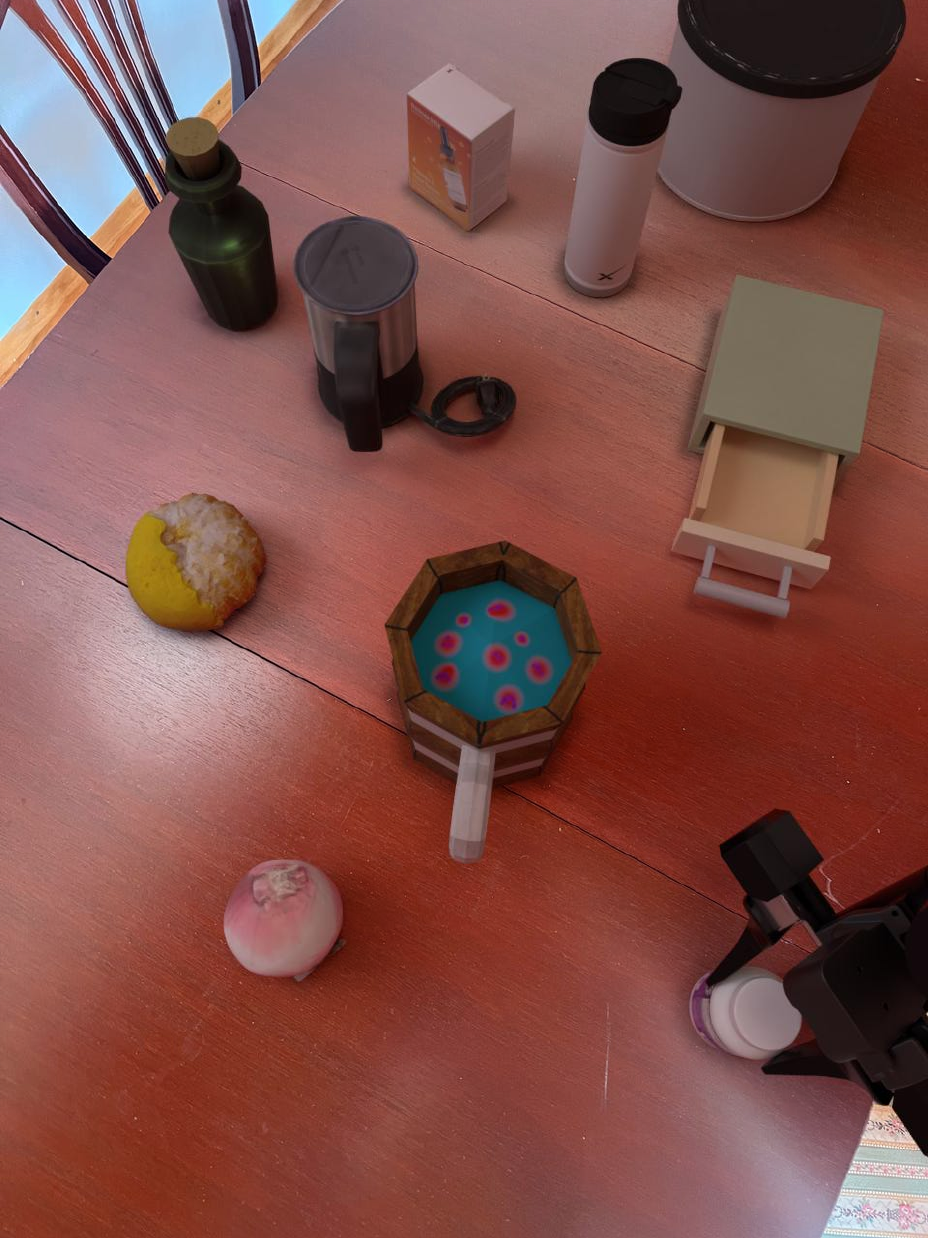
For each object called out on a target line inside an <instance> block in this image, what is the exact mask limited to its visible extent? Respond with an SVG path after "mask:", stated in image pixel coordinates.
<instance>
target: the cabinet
mask: <svg viewBox="0 0 928 1238" xmlns="http://www.w3.org/2000/svg"><path fill="white" fill-rule="evenodd" d="M884 314H885V310H884V309H883V308H877V307H874V306H871V305H870V306H869V305H865V304H861V303H858V302H854V301H849V300H845V299H841V298H836V297H833V296H830V295H829V296H828V295H824V294H820V293H816V292H812V291H808V290H803V289H799V288H795V287H791V286H788V285H784V284H783V285H782V284H779V283H774V282H770V281H766V280H763V279H758V278H755V277H749V276H745V275H741V274H736V275H735V278H734V281H733V282H732V285H731V288H730V291H729V292H728V295H727V298H726V301H725V303H724V306H723V309H722V310H721V312H720V316H719V319H718V322H717V327H716V331H715V334H714V338H713V342H712V347H711V351H710V354H709V360H708V363H707V367H706V372H705V375H704V379H703V382H702V387H701V392H700V396H699V400H698V404H697V408H696V412H695V416H694V420H693V424H692V427H691V432H690V436H689V440H688V444H687V449H686V450H687V451H688V452H692V453H695V454H700V455H702V456H703V455H704V451H705V447H706V442H707V438H708V434H709V430H710V426H711V421H712V422H716V423H720V424H724V425H728V426H732V427H736V428H739V429H743V430H747V431H751V432H755V433H759V434H763V435H767V436H771V437H775V438H778V439H782V440H786V441H790V442H794V443H798V444H802V445H806V446H810V447H814V448H817V449H821V450H825V451H829V452H833V453H837V454H839V457H838V463H837V469H836V474H835V480H834V486H833V489H835V488H836V486H837V485H838V484H839V482H840V481H841V480H842V478H843V477H844V476H845V474H846V473H847V471H848V470H849V469H850V468H851V466H852V465H853V464H854V463H855V462H856V460H857V459H858V457H859V456H860V454H861V451H862V446H863V439H864V433H865V427H866V421H867V416H868V410H869V404H870V398H871V392H872V385H873V381H874V380H873V379H874V375H875V374H874V373H875V368H876V361H877V357H878V352H879V351H878V349H879V345H880V339H881V333H882V326H883V322H884V321H883V320H884Z"/></svg>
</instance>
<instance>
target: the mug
mask: <svg viewBox="0 0 928 1238" xmlns="http://www.w3.org/2000/svg"><path fill="white" fill-rule="evenodd" d="M396 604H397V605H395V608H394V609H393V611H392V612H391V614H390V615H389V617H388V618H387V620H386V621H385V622H384V625H383V626H384V628H385V633H386V637H387V641H388V644H389V648H390V653H391V656H392V657H391V659H392V660H391V666H392V670H393V674H394V678H395V682H396V685H397V692H396V697H397V701H398V705H399V708H400V712H401V716H402V720H403V724H404V727H405V732H406V737H407V741H408V745H409V748H410V751H411V755H412V759H413V760H414V761H416V762H418V763H419V764H421V765H423V766H424V767H426V768H428V769H429V770H432V771H433V772H435V773H437V774H438V775H440V776H442V777H444V778H445V779H447V780H448V781H451V782H452V783H454V784H456V785H455V786H456V787H455V791H454V792H455V793H454V800H453V805H452V806H453V807H452V813H451V822H450V823H451V824H450V830H449V838H448V839H449V841H448V849H449V855H450V857H451V858H452V860H453V861H455V862H458V863H462V864H463V865H467V864H476V863H478V862H479V861H481V859H482V858H483V853H484V852H485V846H486V839H487V833H488V824H489V815H490V808H491V798H492V790H493V789H496V788H501V787H504V786H507V785H511V784H512V785H513V784H515V783H520V782H523V781H527V780H531V779H533V778H539V777H541V776H542V775H543V773H544V771H545V769H546V767H547V765H548V763H549V762H550V759H552V756H553V754H554V752H555V751H556V749H557V747H558V745H559V743H560V741H561V739H562V738H563V737H564V734H565V733H566V731H567V729H568V727H569V726H570V724H571V721H573V718H574V710H575V708H576V706H577V704H578V702H579V700H580V699H581V697H582V695H583V693H584V692H585V690H586V685H587V680H588V678H589V677H590V674H591V673H592V671H593V670H594V667H595V665H596V664H597V662H598V661H599V659H600V656H601V655H602V653H603V651H602V648H601V645H600V642H599V639H598V636H597V633H596V631H595V627H594V625H593V621H592V619H591V616H590V613H589V610H588V607H587V604H586V601H585V598H584V595H583V592H582V590H581V586H580V584H579V580H578V578H577V576H574V575H573V574H571V573H569V572H567V571H565V570H563V569H561V568H559V567H557V566H555V565H553V564H552V563H550V562H547V561H546V560H544V559H542V558H540V557H538V556H536V555H534V554H532V553H530V552H529V551H527V550H525V549H523V548H521V547H519V546H517V545H515V544H513V543H511V542H509V541H507V540H500V541H497V542H492V543H488V544H484V545H480V546H475V547H472V548H467V549H463V550H459V551H455V552H450V553H446V554H443V555H442V554H441V555H439V556H438V555H437V556H434V557H430V558H426V560H425V561H424V563H423V565H422V566H421V568H420V569H419V571H418V572H417V573H416V575H415V577H414V578H413V580H412V581H411V582H410V584H409V586H408V587H407V589H406V590H405V592H404V593H403V595H402V596H401V598H400V600H399V601H398V603H396Z"/></svg>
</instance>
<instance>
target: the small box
mask: <svg viewBox="0 0 928 1238" xmlns="http://www.w3.org/2000/svg"><path fill="white" fill-rule="evenodd" d="M515 115H516V107H514V106H513V105H511V104H510V103H509V102H507V101H505V100H504V99H502V98H501V97H499V96H497V95H496V94H495V93H493V92H491V91H490V90H488V89H487V88H486V87H485V86H483V85H481V84H480V83H479V82H478V81H476V80H475V79H474V78H471V77H470V76H469V75H468V74H466V73H465V72H464V71H463V70H461V69H460V68H458V66H457V65H455V64H454V63H453V62H448V63H446V64H445V65H443V67H441V68H439V69H438V70H437V71H435V72H434V73H433V74H431V75H430V76H429V77H427V78H426V79H424V80H423V81H421V82H420V83H418V84H417V85H416V86H415V87H413V88H412V89H411V90H410V91H408V92H407V93H406V116H407V117H406V122H407V148H408V149H407V151H408V152H407V153H408V154H407V155H408V177H409V178H408V185H409V188H410V189H411V190H413V191H414V192H416V193H417V194H419V195H420V196H421V197H423V198H424V199H425V200H426V201H428V202H429V203H431V204H432V205H433V206H434V207H436V208H437V209H438V210H439V211H440V212H442V213H443V214H445V215H446V216H447V217H449V218H450V219H451V220H452V221H454V222H455V223H456V224H457V225H458V226H460V227H461V228H462V229H463V230H465V231H466V232H470V231H471V230H473V229H474V228H475V227H476V226H478V225H479V224H480V223H481V222H482V221H484V220H485V219H486V218H488V216H490V215H492V214H493V212H495V211H496V210H497V209H499V208H500V207H501V206H502V205H504V204H505V203H507V201H508V195H509V184H510V173H511V172H510V171H511V170H510V169H511V160H512V149H513V139H514V127H515V125H514V124H515Z"/></svg>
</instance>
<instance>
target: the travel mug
mask: <svg viewBox="0 0 928 1238" xmlns="http://www.w3.org/2000/svg"><path fill="white" fill-rule="evenodd" d="M667 66H668V65H666V64H664V63H662V62H661V61H657V60H655V59H652V58H645V57H628V58H624V59H619V60H616V61H613V62H612V63H610V64H609V65H607V66H606V67H605V68H604V70H603V71H601V72H600V73H599V74H598V75H597V76H596V77H595V79H594V81H593V84H592V89H591V95H590V99H589V101H590V102H589V106H588V108H587V109H588V110H587V114H586V121H585V128H584V133H583V140H582V147H581V151H580V152H581V153H580V158H579V165H578V172H577V177H576V184H575V190H574V197H573V203H572V209H571V214H570V222H569V228H568V236H567V242H566V247H565V254H564V261H563V274H564V278H565V279H566V281H567V282H568V284H569V285H570V286H571V287H572V288H573V289H574V290H576V291H577V292H578V293H580V294H583V295H586V296H589V297H594V298H605V297H610V296H613V295H616V294H618V293H619V292H621V291H622V290H623V289H624V288H626V287H627V285H628V284H629V282H630V280H631V276H632V273H633V270H634V269H633V268H634V265H635V261H636V257H637V253H638V248H639V247H640V246H639V245H640V242H641V238H642V234H643V229H644V225H645V223H646V222H645V221H646V218H647V213H648V209H649V205H650V202H651V198H652V194H653V189H654V186H655V182H656V178H657V174H658V172H657V170H658V167H659V163H660V159H661V155H662V151H663V147H664V143H665V139H666V135H667V131H668V127H669V122H670V115H671V112H672V109H674V108H675V107H676V105H677V104H678V102H679V101H680V99H681V94H682V87H681V86H678V84H677V79H676V77H675V74H674V73H673V72H672V71H671V69H669V68H668V67H667Z"/></svg>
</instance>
